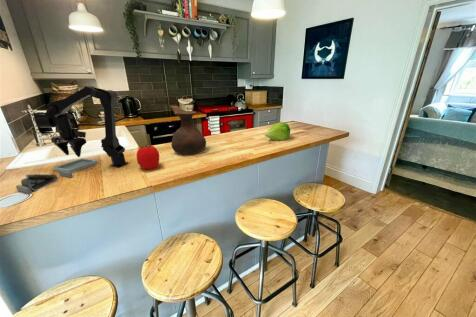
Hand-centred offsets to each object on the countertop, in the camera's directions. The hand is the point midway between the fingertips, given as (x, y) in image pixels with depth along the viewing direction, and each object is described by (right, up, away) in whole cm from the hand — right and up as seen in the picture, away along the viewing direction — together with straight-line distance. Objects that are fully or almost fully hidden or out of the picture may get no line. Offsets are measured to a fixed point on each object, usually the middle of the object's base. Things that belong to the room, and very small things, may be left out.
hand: (73, 155), depth 108 cm
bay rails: (+1, -14, -16) cm, 21 cm away
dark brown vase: (+57, +2, +24) cm, 62 cm away
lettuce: (+118, +10, +46) cm, 127 cm away
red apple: (+41, -7, +1) cm, 42 cm away
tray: (0, -7, +2) cm, 7 cm away
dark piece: (+1, -15, -13) cm, 20 cm away
